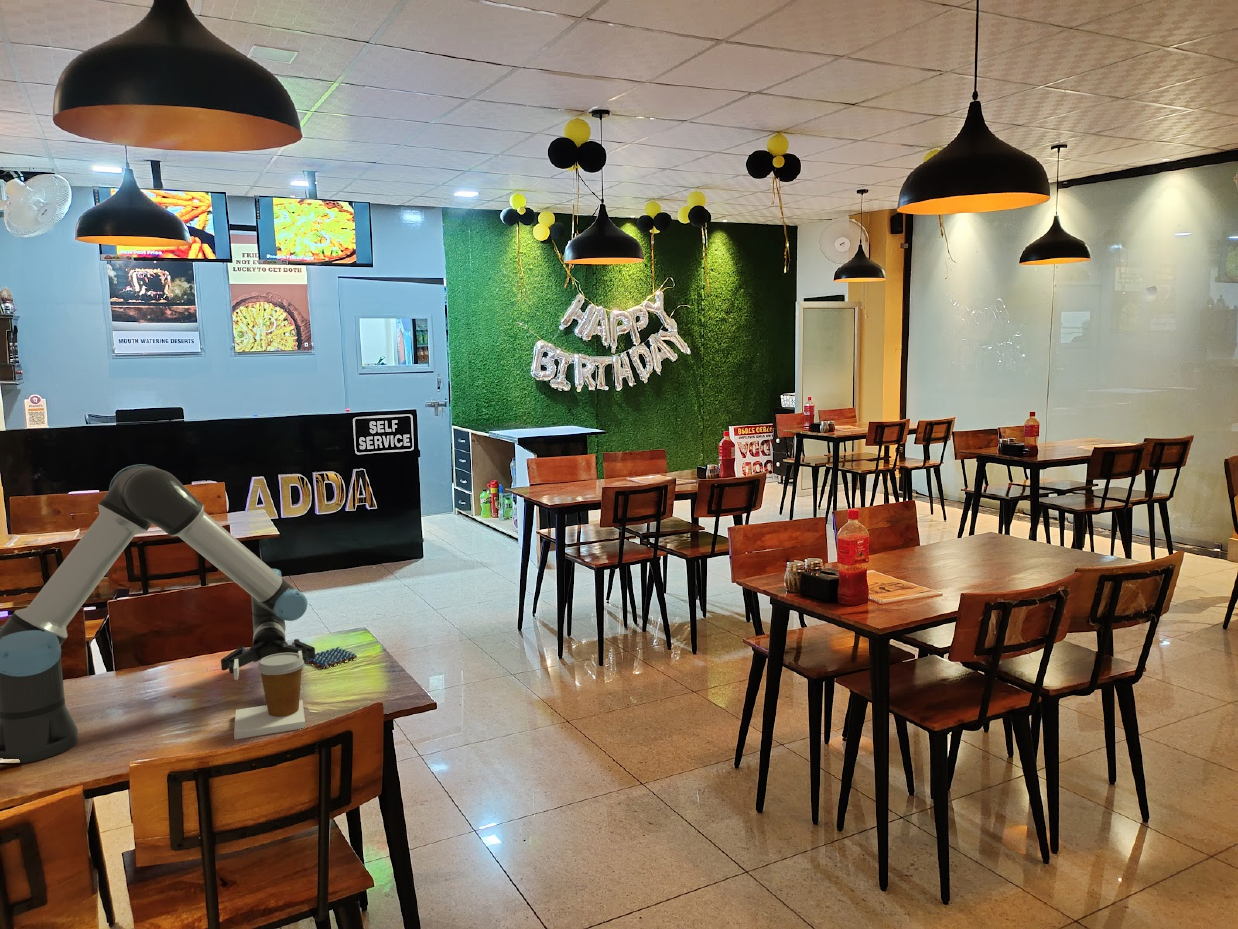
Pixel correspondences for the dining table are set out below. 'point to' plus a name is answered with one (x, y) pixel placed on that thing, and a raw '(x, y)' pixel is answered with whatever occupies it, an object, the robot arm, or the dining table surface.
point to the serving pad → (265, 721)
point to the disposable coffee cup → (281, 682)
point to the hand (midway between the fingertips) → (268, 669)
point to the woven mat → (331, 657)
